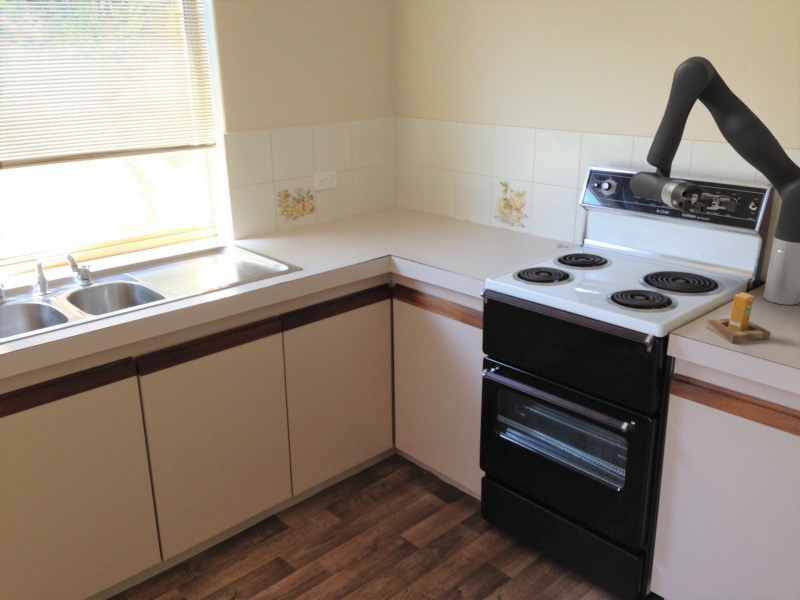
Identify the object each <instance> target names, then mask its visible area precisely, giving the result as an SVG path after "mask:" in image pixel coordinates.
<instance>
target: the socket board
mask: <svg viewBox="0 0 800 600" xmlns="http://www.w3.org/2000/svg"><path fill="white" fill-rule="evenodd" d="M729 321H730V317H729V318H718V319H709V320H708V319H707V321H706V327H705V329H707V330H709V331H710V330H711V332H712V333H713V334H715V333H716V334H715V335H717V336H719V337H720V336H721V337H720V338H723V339H724V340H726V341H727V342H729V343H731V345H732V344H734V345H735V344H743V343H752V342H753V343H754V342H762V341H770V339H771V338H770V337H771V333H772V332H771V331H769V330H767V329H766V328H764V327H761V325H758V324H756V323H755V322H752V321H751V320H749V322H748V327H747V331H739V332H735V331H733V330H732V329H730V328H728V325H729Z"/></svg>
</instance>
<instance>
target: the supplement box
mask: <svg viewBox="0 0 800 600" xmlns="http://www.w3.org/2000/svg"><path fill="white" fill-rule="evenodd" d="M754 300H755V296H754V295H752V294H750V293H747V292H739V293H736V294H734V298H733V302H732V307H731V311H730V312H731V313H730V316H729V318H730V321H729V325H728V328H730V329H732V330H733V331H735V332H739V331H747V327H748V322H749V321H750V317H751V313H752V308H753V304H754Z"/></svg>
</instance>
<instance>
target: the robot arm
mask: <svg viewBox="0 0 800 600" xmlns="http://www.w3.org/2000/svg"><path fill="white" fill-rule="evenodd" d="M697 101H699V102H700V103H702V105H704V108H706V109H707V111H708V112H709V113H710V115H711V116H712V119H713V121H714V122H715V124H716V126H717V128H718V130H719V132H720V133H721V135H722V137H723V138H724V139H725V141H726V142H727V143H728V144H729V145H730V147H731V148H732V149H733V150H734V151H735V152H736V153H737V154H738V155H739V156H740V157H741V158H742V159H743V160H744V161H745V162H747V164H749V165H750V166H751V167H753V168H755V169H756V170H757V171H758V172H759V173H761V174H762V176H764V177H765V178H766V179H767V181H768V182H769V183H770V184H771V186H772V187H773V188H774V189H775V191H776V192H777V194H778V195H779V196H780V198H781V202H780V208H779V213H778V218H777V223H776V226H775V231H774V235H773V241H772V247H771V253H770V257H769V258H770V259H769V262H768V269H767V274H766V280H765V285H764V290H763V295H762V297H763V298H764V299H765V300H766V301H768V302H771V303H775V304H778V305H779V304H780V305H789V306H792V305H798V304H800V166H799V165H798V164H797V163H795V162H794V161H793V159H791V158H790V156H789V155H788V154H787V152H786V151H785V149H784V148H783V147H782V145H781V144H780V142H779V140H778V139H777V138H776V136H774V134H773V133H772V131H771V130H770V129H769V128H768V127H767V125H766V124H765V123H764V122H763V121H762V120H761V118H760V117H758V116H757V114H755V113H754V112H753V111H752V110H751V108H750V107H749V106H748V105H746V104H745V102H744V101H742V99H741V98H739V96H737V95H736V94H735V93H734V91H732V90H731V88H730V87H729V86H728V85H727V83H726V82H725V80H724V79H723V78H722V76H721V75H720V73H719V72H718V70H717V69H716V67H715V66H714V65H713V63H712V62H711V61H710V60H709V59H707V58H706V57H703V56H691V57H688V58H686V59H685V60H684V61H682V62H681V63H680V64H679V65H678V66H677V67H676V69H675V70H674V73H673V78H672V83H671V87H670V92H669V96H668V101H667V104H666V107H665V111H664V113H663V115H662V118H661V121H660V124H659V126H658V128H657V131H656V133H655V136H654V137H653V140H652V143H651V145H650V147H649V150H648V153H647V155H646V162H647V163H648V164H649V165H650V166H652V167H655V168H656V170H655V172H652V171H641V170H640V171H638V172H636V173H634V174H633V175H632V176H631V178H630V181H629V188H630V192H632V194H634V196H636V197H639V198H643V199H648V200H655V201H658V202H660V203H662V204H664V205H667V206H668V207H670V208H672V209H675V210H678V211H681V212H683V213H687V214H692V213H695V212H697V213H700V214H703V215H705V214H707V210H713V211H717V210H719V209H722V210H726V211H728V212H729V211H730V212H732V213H737V211H738V207H739V204H738V203H737V202H735V197H734V198H733V197H730V196H726V195H722V194H719V193H717V194H716V195H714V194H710V193H706V192H705V191H704V188H703V187H702V186H700V185H698V184H696V183H692V182H688V181H685V180H681V179H676V178H673V177H671V172H672V165H673V162H674V159H675V156H676V154H677V153H678V150H679V147H680V145H681V141H682V138H683V135H684V132H685V128H686V125H687V121H688V118H689V117H690V114H691V111H692V109H693V107H694V106H695V104H696V102H697ZM713 203H715V204H714V206H713Z"/></svg>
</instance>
